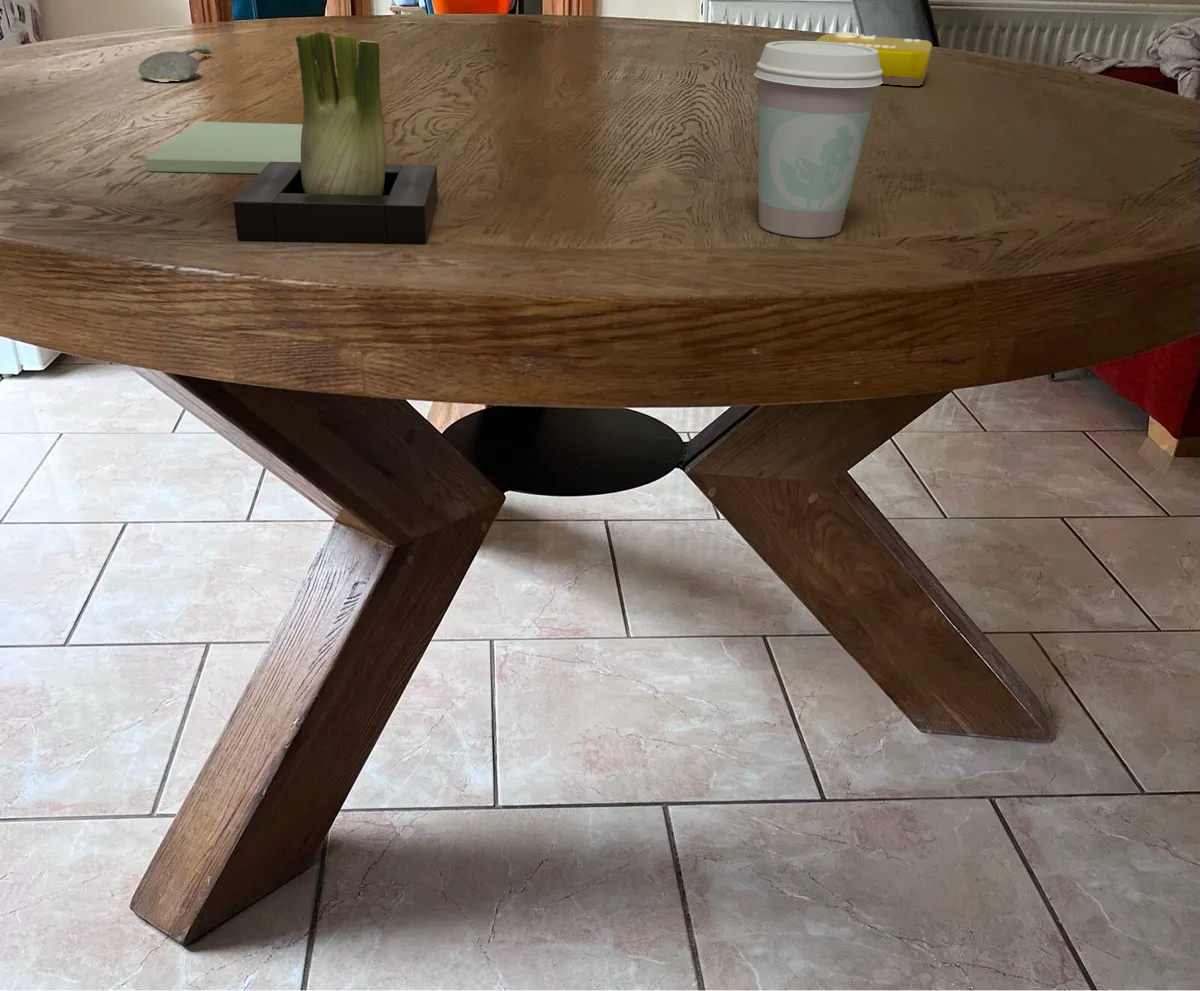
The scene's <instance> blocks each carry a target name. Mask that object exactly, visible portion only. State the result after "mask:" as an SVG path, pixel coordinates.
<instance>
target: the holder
mask: <svg viewBox="0 0 1200 991" xmlns="http://www.w3.org/2000/svg"><path fill="white" fill-rule="evenodd" d="M438 194H439V193H438V165H436V164H399V163H398V164H397V163H396V164H395V163H386V165H385V180H384V190H383V195H342V194H305V193H304V190H303V187H302V178H301V162H270V163H269V164H268V165H267V166H266V167H265V168H264V169H263V170H262V171H261V172H260V173H259V174H257V175H256V176H255V177H254V179H253V180H252V181H251V182H250V183H249V184H248V185H247V186H246V188H244V190H243V191H242V192H241V193H240V194H238V196H237V197H236V198H235V199H234V200H233V202H232V205H233V214H234V220H235V221H234V222H235V229H236V239H237V241H249V242H250V241H253V242H254V241H255V242H301V243H302V242H304V243H350V244H351V243H352V244H353V243H359V244H360V243H361V244H363V243H364V244H412V245H413V244H415V245H417V244H419V245H425V244H427V240H428V236H429V233H430V229H431V227H432V222H433V218H434V215H435V210H436V206H437V203H438V199H439V197H438V196H439V195H438Z"/></svg>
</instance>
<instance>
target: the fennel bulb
mask: <svg viewBox="0 0 1200 991" xmlns="http://www.w3.org/2000/svg"><path fill="white" fill-rule="evenodd" d="M295 41H296V46H297V55H298V60H299V61H298V62H299V66H300V67H299V68H300V78H301V79H300V80H301V87H302V98H303V100H302V101H303V102H302V103H303V104H302V105H303V107H302V108H303V110H302V113H303V114H302V124H303V127H302V134H301V178H302V187H303V190H304V193H305V194H342V195H383V190H384V180H385V165H386V164H387V160H386V157H387V156H386V155H387V154H386V136H385V135H386V134H385V125H384V120H383V117H384V116H383V107H382V99H381V98H382V97H381V84H380V83H381V82H380V81H381V79H380V78H381V77H380V76H381V73H380V43H379V42H378V41H374V40H373V41H372V40H365V39H361V40H359V42H358V43H357V39H356V36H350V35H335V36H334V48H333V44H332V38H331V33H330V32H328V31H315V32H314V33H312V32H311V33H301V34H298V35H297V36H296V38H295ZM333 49H334V50H333ZM334 51H335V59H334ZM335 63H336V64H335Z"/></svg>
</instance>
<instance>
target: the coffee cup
mask: <svg viewBox="0 0 1200 991" xmlns="http://www.w3.org/2000/svg"><path fill="white" fill-rule="evenodd" d="M882 74H883V71H882V69H881V68H880V60H879V52H878V50H876V49H874V48H870V47H866V46H860V45H854V44H846V43H835V42H822V41H816V40H778V41H771V42H768V43H766V44H764V48H763V51H762V53H761V57H760V59H759V60H758V61H757V63H756V70H755V72H754V73H753V76H754V77H755V78H757V148H758V150H757V155H758V156H757V159H758V160H757V164H758V166H757V168H758V170H757V172H758V174H757V175H758V177H757V178H758V225H759V227H761V228H762V229H763V230H765V231H767V232H769V233H772V234H775V235H780V236H785V237H793V238H802V239H803V238H805V239H806V238H807V239H818V238H826V237H828V238H829V237H832V236H835V235H837V234H839V233H841V231H842V228H843V223H844V219H845V217H846V216H845V215H846V212H847V207H848V204H849V202H850V201H849V200H850V196H851V193H852V188H853V185H854V181H855V177H856V173H857V168H858V164H859V161H860V157H861V154H862V153H861V152H862V149H863V145H864V141H865V137H866V133H867V129H868V125H869V121H870V117H871V114H872V110H873V105H874V101H875V98H876V92H877V89H878V86H882V85H881V84H882V83H883V81H882V77H881V75H882Z"/></svg>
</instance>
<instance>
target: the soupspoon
mask: <svg viewBox="0 0 1200 991" xmlns="http://www.w3.org/2000/svg"><path fill="white" fill-rule="evenodd" d="M196 52H198V53H199V54H201V53H202V54H213V55H214V53H215V51H214V47H213V46H212V45H211V44H210V43H202V44H201V45H197V46H196V47H193V48H190V49H187V50H184V51H182V52H180V51H161V52H158V53H155V54H153V55H150V56H149V57H147V58H145V59H144V60H142V61H141V62H140V63H139V67H138V69H137V70H138V73H139V74H140V75H141V76H142V77H143V78H144V77H146V78H154V79H172V80H173V79H174V80H183V81H186V80H188V79H190V78H192V77H193V76H194V75H195V74H196V73H197V72H198V70H199V68H200V62H199V60H198V59H197V58H196V57H193V56H192V54H194V53H196ZM146 78H145V79H146Z"/></svg>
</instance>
